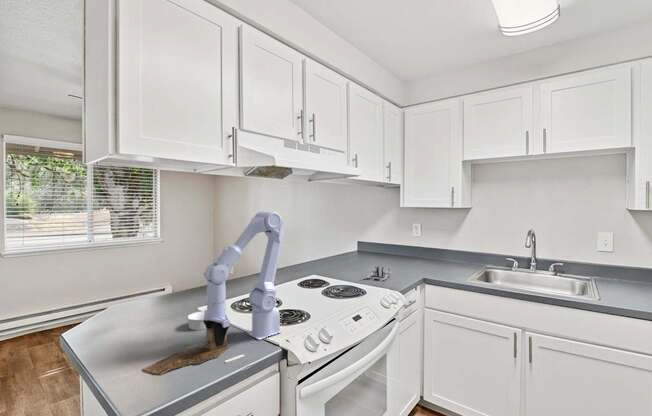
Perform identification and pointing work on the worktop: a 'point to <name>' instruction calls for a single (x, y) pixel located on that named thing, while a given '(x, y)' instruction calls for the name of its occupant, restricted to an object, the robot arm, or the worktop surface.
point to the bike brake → (376, 271)
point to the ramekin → (196, 321)
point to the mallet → (209, 342)
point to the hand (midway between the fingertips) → (216, 343)
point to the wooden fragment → (183, 360)
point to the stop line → (234, 358)
